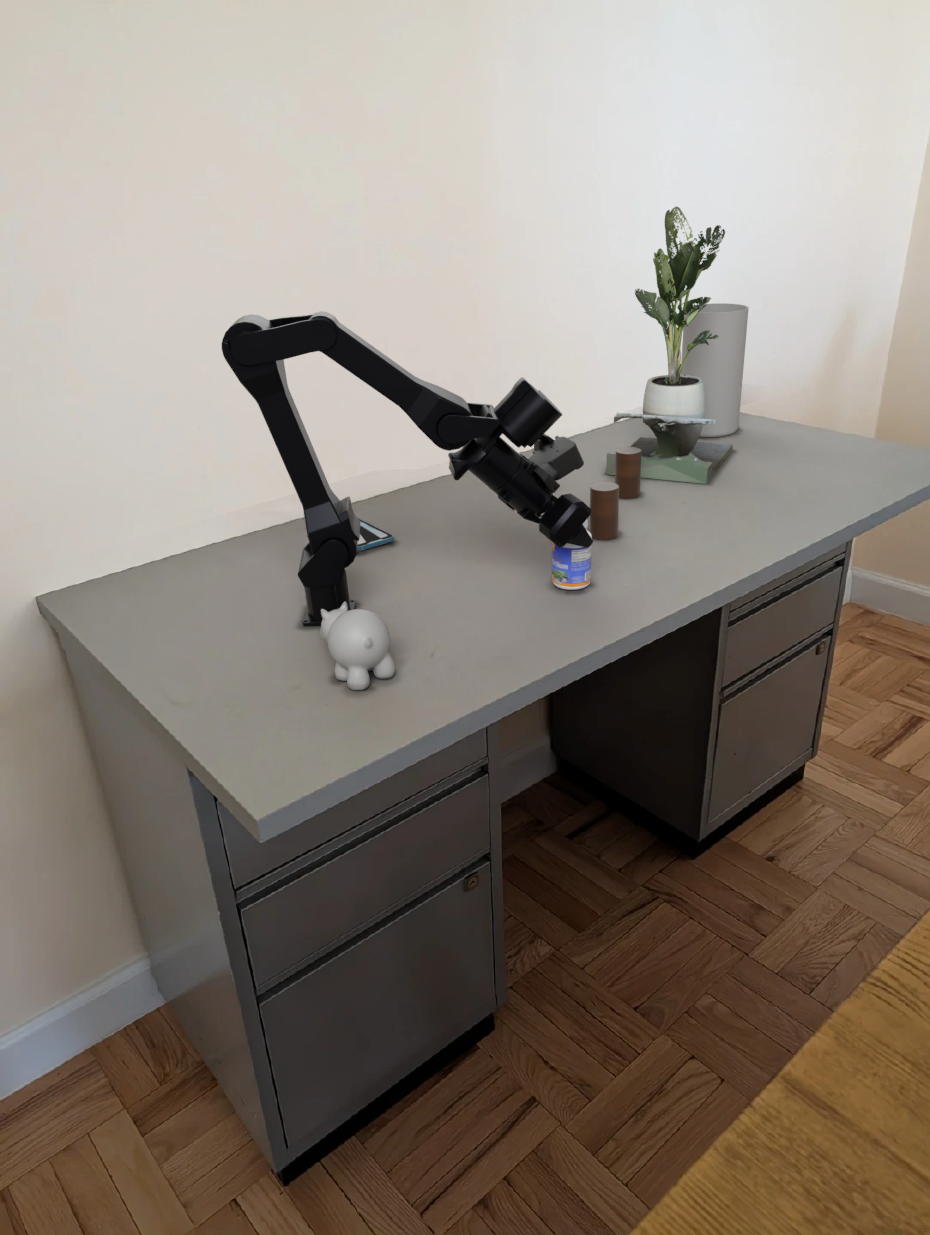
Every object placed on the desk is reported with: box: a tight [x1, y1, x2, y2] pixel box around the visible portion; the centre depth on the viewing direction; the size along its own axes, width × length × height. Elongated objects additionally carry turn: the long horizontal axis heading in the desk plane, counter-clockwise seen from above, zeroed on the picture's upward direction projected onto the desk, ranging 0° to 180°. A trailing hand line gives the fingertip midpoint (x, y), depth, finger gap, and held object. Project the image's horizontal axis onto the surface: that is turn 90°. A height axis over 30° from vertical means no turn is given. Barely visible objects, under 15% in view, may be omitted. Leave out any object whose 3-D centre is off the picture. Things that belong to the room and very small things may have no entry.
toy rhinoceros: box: [319, 601, 396, 691], centre depth 105 cm, size 7×12×8 cm, turn 35°
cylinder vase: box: [680, 303, 749, 438], centre depth 186 cm, size 12×12×25 cm
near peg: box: [589, 481, 620, 541], centre depth 140 cm, size 4×4×8 cm
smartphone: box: [356, 516, 395, 552], centre depth 147 cm, size 7×1×15 cm
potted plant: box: [605, 206, 733, 485], centre depth 163 cm, size 22×19×45 cm
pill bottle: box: [551, 517, 593, 591], centre depth 123 cm, size 5×5×10 cm
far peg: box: [614, 446, 641, 500], centre depth 156 cm, size 4×4×8 cm
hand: (581, 537), depth 122 cm, fingers closed on pill bottle, 5 cm apart
